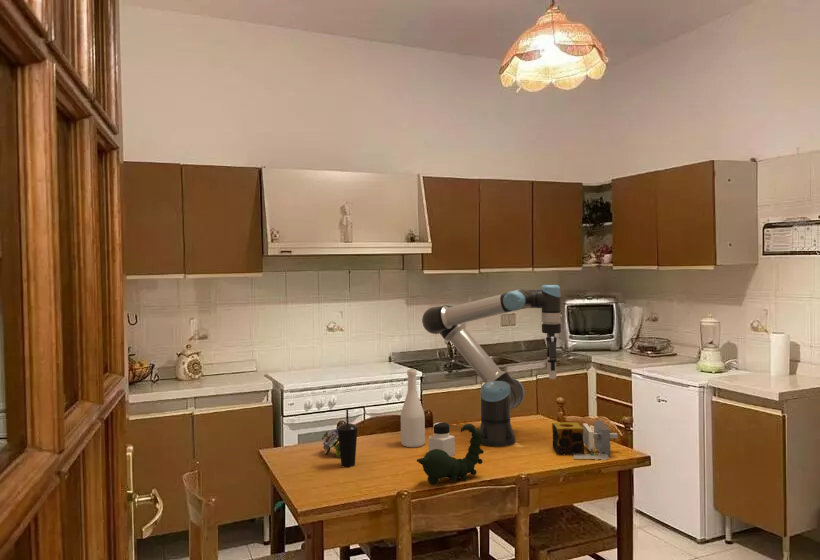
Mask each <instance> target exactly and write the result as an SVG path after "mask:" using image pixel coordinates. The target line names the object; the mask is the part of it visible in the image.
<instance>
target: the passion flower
mask: <svg viewBox="0 0 820 560" xmlns="http://www.w3.org/2000/svg"><path fill="white" fill-rule="evenodd" d="M324 439H325V440H324ZM321 440H324V442H323V444H322V445H323V446H322V448H323V450H325V452H324V455H328V453H329V452H330V450H331V449H332V448H333V449H334V450H335V454H336V458H337V459H341V457H340V447H339V438H338V430H337V429H335V430H333V431H331V432H330V433H329V430H326V432H325V433H323V436H322V438H321Z"/></svg>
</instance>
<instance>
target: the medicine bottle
mask: <svg viewBox="0 0 820 560" xmlns="http://www.w3.org/2000/svg"><path fill="white" fill-rule="evenodd" d="M432 427H433V428H432V429H433V431H432V432H433V435H430V436H428V452H429V451H431V450H433V449H440V450H443V451H445V452H446V453H447V454H448V455H449V456H450V457H453V456H455V455H456V452H455V451H456V445H455V441H456V439H455V436H454V435H450V432H451V430H450V428H451V427H450V423H447V422H445V421H444V422H436V423H435V422H434V424H433V426H432Z"/></svg>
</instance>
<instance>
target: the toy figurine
mask: <svg viewBox="0 0 820 560" xmlns="http://www.w3.org/2000/svg"><path fill="white" fill-rule="evenodd" d="M459 431H460V433H463V432H464V431H468V432H469V433H471V437H470V439H469V446H468V448H467V451H468V452H466V454H465V457H463V458H455V457H453V456H449V455H448V454H447V453H446V452H445V451H443V450H440V449H433V450H431V451H429V450H428V452H426V453H425V455H424V456H423V457H421V458H417V459H416V462H418V464H420V465H422V471H424V473H425V475H426V476H427V482H428V483H429V484H430V485H432V486H435V485H438V484H439V481H440V480H441V479H448V480H449V481H450V482H452V483H455V482H456V481H457V480H458V479H461V480H462V481H467V480H468V476H467V475H468V474H470V475H471V476H476V475H477V470H476V469H475V466H476V465H477V464H478V465H482V464H483V459H482V458H480V455H483V454H484V449H481V446H484V445H483V444H484V441H482V440H481V437H483V436H484V434H483V433H481V431H480V430H479V429H476V427H475V425H473V424H471V423H466V424H464V425H463V426H461V428H460V430H459Z"/></svg>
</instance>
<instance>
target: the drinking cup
mask: <svg viewBox="0 0 820 560" xmlns="http://www.w3.org/2000/svg"><path fill="white" fill-rule="evenodd" d="M345 410H346V412H345V415H346V416H345V418H346V419H345V421H346V423H342V424H340V425H338V426H336V430H338V438H339V441H338V443H339V447H340V464H341V467H343V466H344V468H350V466H352V467H354V466H355V465H356V454H357V440H358V439H357V437H358V430H359V426H358V425H356V424H354V423H350V422H349V408H347V409H345Z"/></svg>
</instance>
